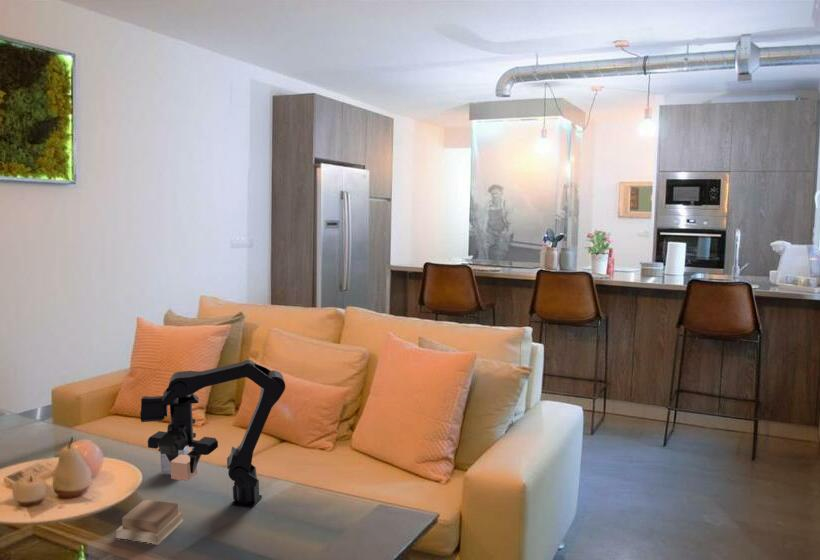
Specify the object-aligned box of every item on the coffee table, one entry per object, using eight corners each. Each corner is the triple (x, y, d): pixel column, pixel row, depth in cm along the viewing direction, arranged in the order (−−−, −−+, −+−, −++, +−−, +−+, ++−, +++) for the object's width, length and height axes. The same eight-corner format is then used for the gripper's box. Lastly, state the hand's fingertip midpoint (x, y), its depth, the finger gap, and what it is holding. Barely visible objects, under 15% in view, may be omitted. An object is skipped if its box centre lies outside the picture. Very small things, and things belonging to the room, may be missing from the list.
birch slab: (183, 522, 188) (182, 512, 187) (158, 546, 176) (157, 536, 176) (143, 517, 190) (143, 507, 190) (116, 541, 179) (115, 530, 178)
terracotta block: (197, 473, 194) (196, 456, 193) (187, 481, 189) (186, 463, 188) (181, 470, 195) (180, 454, 194) (171, 478, 190) (170, 461, 190)
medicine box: (191, 469, 218) (190, 443, 217) (185, 476, 214) (184, 449, 212) (167, 468, 219) (166, 442, 218) (161, 474, 215) (159, 448, 213)
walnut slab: (178, 513, 187) (177, 503, 186) (157, 533, 177) (156, 522, 176) (145, 509, 189) (144, 499, 188) (122, 528, 179) (121, 517, 179)
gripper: (133, 425, 184) (136, 480, 186) (196, 433, 179) (198, 489, 182) (158, 411, 194) (161, 463, 197) (217, 418, 190) (219, 471, 193)
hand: (184, 471), depth 192 cm, fingers closed on terracotta block, 5 cm apart
